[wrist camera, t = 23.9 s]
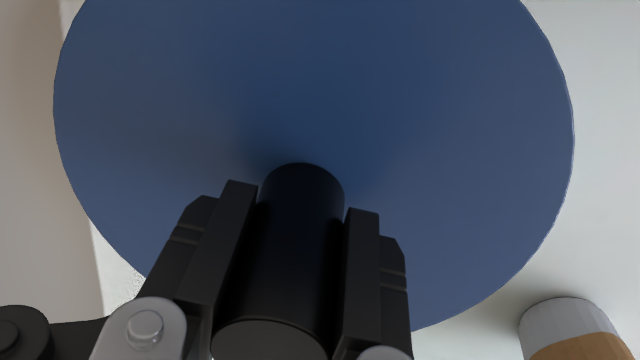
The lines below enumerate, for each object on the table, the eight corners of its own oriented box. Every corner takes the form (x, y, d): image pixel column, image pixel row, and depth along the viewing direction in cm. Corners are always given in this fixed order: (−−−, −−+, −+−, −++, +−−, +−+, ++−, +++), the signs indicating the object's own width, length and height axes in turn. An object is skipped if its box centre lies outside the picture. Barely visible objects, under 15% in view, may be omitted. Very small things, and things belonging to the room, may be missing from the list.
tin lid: (31, -183, 8) (-422, -247, 4) (688, -11, 9) (1049, 128, 4) (101, 273, 16) (-10, 438, 12) (442, 346, 17) (469, 532, 12)
